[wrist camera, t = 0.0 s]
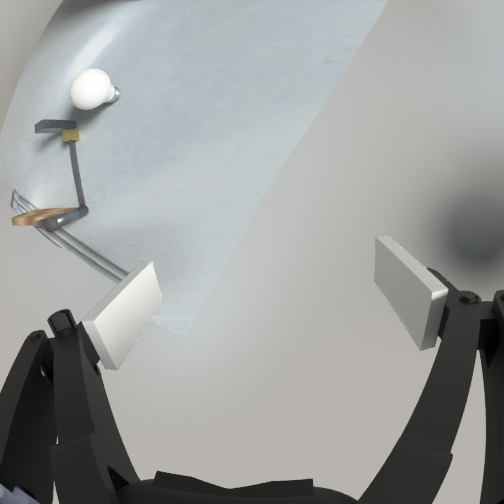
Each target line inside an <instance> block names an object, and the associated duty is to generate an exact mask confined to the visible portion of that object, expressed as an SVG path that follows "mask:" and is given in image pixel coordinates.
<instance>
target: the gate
mask: <svg viewBox="0 0 504 504" xmlns="http://www.w3.org/2000/svg"><path fill="white" fill-rule="evenodd" d="M72 209H75V208H54V209H35V210H31V211H28V212H26V213H23V214H21V215H18V216H16V217H13V218H12V223H13V225H36V228H46V230H47V231H48V232H53V231H55V230H57V229H58V220H57V218H56V217H55V216H57V215H60V214H62V213H65V212H67V211H70V210H72Z"/></svg>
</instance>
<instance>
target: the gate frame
mask: <svg viewBox="0 0 504 504" xmlns="http://www.w3.org/2000/svg"><path fill="white" fill-rule="evenodd" d="M75 128H76V127H75V121H72V120H42V121H40V122H38V123H37V124H35V133H62V136H63V141H69V146H70V154H71V161H72V167H73V173H74V179H75V184H76V189H77V194H78V199H79V204H80V207H78V208H75V209H72V210H70V211H67V212H65V213H62V214H60V215H57V216H55V217H56V218H57V220H58V228H59V227H61V226H63V225H65V224H67V223H70V222H72V221H74V220H76V219H79V218H81V217H83V216H86V215H87V214H88V208H87V206H86V204H85V200H84V195H83V190H82V185H81V179H80V174H79V168H78V162H77V155H76V147H75V141H77V140H79V132H78V130H73V129H75Z"/></svg>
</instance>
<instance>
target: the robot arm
mask: <svg viewBox="0 0 504 504" xmlns="http://www.w3.org/2000/svg"><path fill="white" fill-rule="evenodd" d="M375 248H376V249H375V280H374V281H375V282H376V284H377V285H378V286H379V288H380V289H381V291H382V292H383V294H384V295H385V297H386V298H387V300H388V301H389V302H390V304H391V306H392V307H393V309H394V310H395V312H396V313H397V315H398V316H399V318H400V319H401V321H402V323H403V324H404V326H405V327H406V329H407V330H408V332H409V334H410V335H411V337H412V339H413V340H414V342H415V343H416V345H417V347H418V348H419V350H420V351H421V350H425V349H428V348H432V347H435V344H436V341H437V337H438V336H439V337H440V338H441V343H440V346H439V350H438V353H437V356H436V358H435V361H434V364H433V367H432V369H431V372H430V375H429V377H428V380H427V382H426V385H425V387H424V389H423V392H422V394H421V396H420V399H419V401H418V403H417V405H416V407H415V409H414V411H413V414H412V416H411V418H410V420H409V422H408V424H407V426H406V427H405V429H404V431H403V433H402V435H401V437H400V438H399V440H398V441H397V443H396V445H395V446H394V448H393V450H392V452H391V453H390V455H389V457H388V458H387V460H386V461H385V463H384V465H383V466H382V468H381V469H380V471H379V472H378V474H377V475H376V477H375V478H374V480H373V481H372V482H371V484H370V485H369V487H368V488H367V489H366V491H365V492H364V494H363V495H362V496H361V497H360V499H359V500H358V501H357V500H356V499H354V498H352V497H350V496H348V495H346V494H344V493H341V492H338V491H335V490H331V489H326V488H321V487H313V479H304V480H289V481H270V482H266V483H261V484H257V485H251V486H245V487H240V488H233V489H227V488H223V487H220V486H216V485H213V484H210V483H207V482H204V481H202V480H199V479H196V478H193V477H189V476H183V475H176V474H171V473H166V472H161V471H157V472H156V475H155V478H154V479H149V480H143V481H141V480H140V479H139V478H138V476H137V474H136V472H135V470H134V468H133V465H132V463H131V461H130V458H129V456H128V454H127V452H126V449H125V447H124V444H123V442H122V439H121V436H120V434H119V431H118V428H117V425H116V423H115V420H114V417H113V414H112V411H111V408H110V404H109V401H108V398H107V395H106V391H105V388H104V384H103V380H102V377H101V373H100V369H99V368H98V366H97V363H98V361H99V360H101V362H102V363H103V365H104V367H105V369H111V370H118V369H119V367H120V366H121V364H122V363H123V361H124V360H125V358H126V356H127V355H128V353H129V352H130V350H131V349H132V347H133V346H134V344H135V343H136V341H137V340H138V338H139V336H140V335H141V333H142V332H143V330H144V329H145V328H146V326H147V325H148V323H149V322H150V320H151V319H152V317H153V316H154V314H155V313H156V311H157V310H158V308H159V307H160V305H161V304H162V302H163V297H162V294H161V291H160V288H159V284H158V281H157V277H156V274H155V270H154V267H153V263H152V261H149V262H141V263H140V264H139V265H138V266H137V267H136V268H135V269H134V270H133V271H131V272H130V273H129V274H128V275H127V276H126V277H125V278H124V279H123V280H122V281H121V282H120V283H119V284H118V285H117V286H116V287H114V289H112V290H111V291H110V293H108V294H107V295H106V296H105V297H104V298H103V299H102V300H101V301H100V302H99V303H98V304H97V305H96V306H95V307H94V308H93V309H92V310H91V311H90V312H89V313H88V314H87V315H86V316H85V317H84V318H83V319H82V320H81V322H80V323H79V324H78V325H76V322H75V320H74V318H73V316H72V313H71V312H70V310H68V309H63V310H60V311H57V312H55V313H54V314H52V315H51V316H50V317H49V318H48V320H47V321H48V323H49V325H50V327H51V329H52V331H53V333H54V335H55V337H54V338H48V337H47V335H46V333H45V331H44V330H38V331H34V332H32V333H30V335H29V336H28V337H27V338H26V340H25V341H24V343H23V345H22V347H21V349H20V351H19V353H18V355H17V357H16V359H15V361H14V363H13V365H12V367H11V370H10V372H9V374H8V376H7V378H6V381H5V383H4V386H3V388H2V390H1V393H0V504H52V502H53V488H54V486H53V485H54V482H55V487H56V492H57V496H58V500H59V504H432V502H433V500H434V499H435V497H436V495H437V493H438V491H439V489H440V487H441V485H442V483H443V480H444V478H445V476H446V474H447V472H448V469H449V467H450V464H451V461H452V457H453V454H451V449H452V445H453V443H454V440H455V437H456V434H457V432H458V428H459V425H460V422H461V419H462V416H463V412H464V409H465V405H466V401H467V397H468V393H469V389H470V385H471V380H472V376H473V370H474V365H475V359H476V352H477V350H479V352H480V358H481V365H482V373H483V381H484V392H485V407H486V450H485V465H484V475H483V483H482V491H481V498H480V504H504V290H499V291H497V292H496V293H495V295H494V299H493V301H490V302H489V301H485V302H482V301H481V298H480V297H479V296H478V295H477V294H475V293H473V292H470V291H459V290H457V289H456V288H455V287H454V286H453V285H452V284H451V283H450V282H449V281H447V280H446V279H445V278H444V277H443V276H442V275H441V274H440V273H439V272H437V271H435V270H433V269H431V268H425V267H424V266H423V265H422V264H420V263H419V262H418V261H417V260H416V259H415V258H414V257H412V256H411V255H410V254H409V253H408V252H407V251H405V250H404V249H403V248H402V247H401V246H399V245H398V244H397V243H396V242H395V241H394V240H392V239H391V238H390V237H389V236H378V237H376V246H375ZM41 371H42V372H43V374H44V376H43V374H42V372H41ZM57 436H58V444H56V442H57Z"/></svg>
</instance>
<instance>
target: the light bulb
mask: <svg viewBox="0 0 504 504" xmlns="http://www.w3.org/2000/svg"><path fill="white" fill-rule="evenodd" d="M69 94H70V99H71V101H72V103H73V104H74V105H75V106H76V107H77V108H79V109H83V110H90V109H93V108H96V107H98V106H99V105H101V104H102V103H106V102H108V103H111V102H114V101H116V100H117V99H118V98H119V95H120V91H119V89H118V88H117V87H114V86H113V85H111V84H110V79H109V77H108V75H107V74H106V73H105V72H103V71H101V70H99V69H88V70H85V71H83V72H81V73H80V74H79V75H78V76H77V77H76V78H75V79H74V80H73V82H72V84H71V86H70V91H69Z"/></svg>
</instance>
